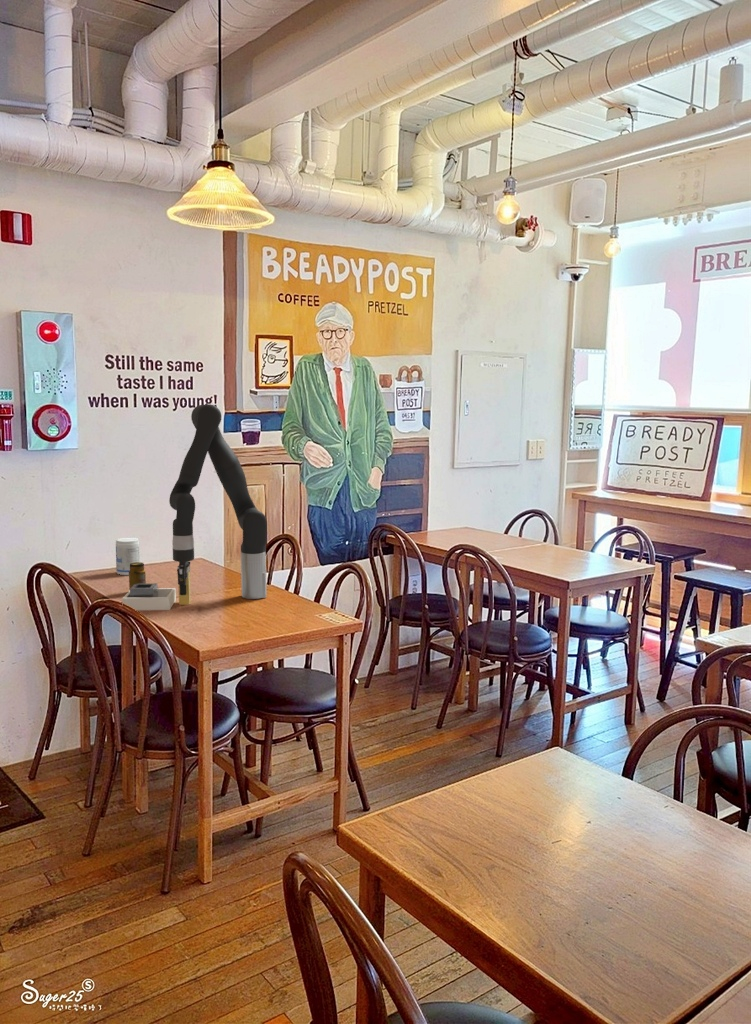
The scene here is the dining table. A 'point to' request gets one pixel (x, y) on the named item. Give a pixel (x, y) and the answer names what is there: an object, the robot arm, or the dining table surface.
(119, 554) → the supplement tub
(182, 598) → the plug
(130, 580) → the condiment
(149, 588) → the socket
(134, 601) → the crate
